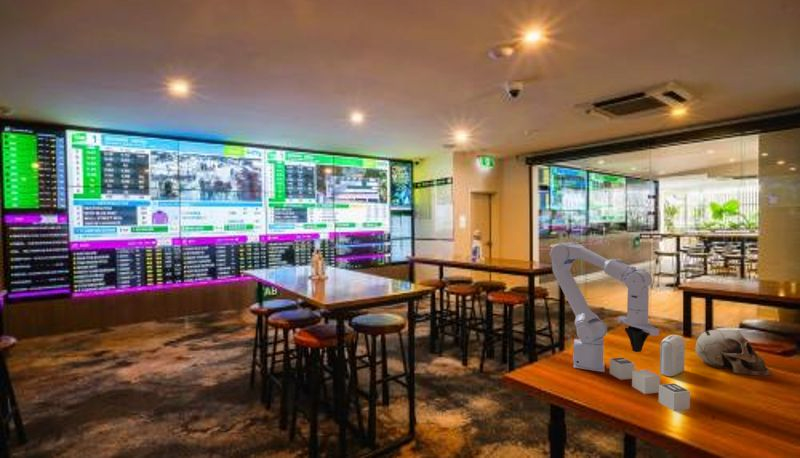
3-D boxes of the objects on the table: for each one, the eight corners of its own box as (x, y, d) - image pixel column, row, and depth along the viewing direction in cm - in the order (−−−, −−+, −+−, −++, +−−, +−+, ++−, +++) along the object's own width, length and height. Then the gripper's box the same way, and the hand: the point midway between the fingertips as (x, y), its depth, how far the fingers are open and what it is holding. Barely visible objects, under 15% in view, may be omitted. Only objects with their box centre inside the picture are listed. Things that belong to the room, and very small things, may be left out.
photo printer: (671, 366, 137) (672, 331, 136) (686, 370, 133) (687, 334, 133) (657, 373, 131) (658, 336, 130) (672, 378, 128) (673, 340, 127)
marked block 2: (658, 402, 112) (658, 383, 112) (673, 400, 113) (674, 382, 113) (673, 411, 107) (674, 391, 107) (689, 409, 108) (690, 390, 108)
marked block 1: (609, 373, 132) (609, 357, 132) (622, 372, 133) (623, 356, 133) (620, 379, 127) (620, 363, 127) (634, 378, 128) (634, 362, 128)
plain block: (632, 386, 122) (632, 370, 122) (646, 385, 123) (646, 369, 123) (644, 394, 117) (645, 377, 117) (659, 392, 118) (659, 376, 118)
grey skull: (778, 375, 129) (773, 334, 128) (726, 382, 128) (722, 341, 128) (735, 358, 144) (731, 322, 144) (689, 365, 144) (685, 328, 143)
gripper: (668, 313, 119) (667, 358, 120) (631, 302, 133) (631, 342, 134) (647, 315, 118) (646, 360, 118) (612, 303, 132) (612, 344, 133)
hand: (636, 351), depth 126 cm, fingers closed
